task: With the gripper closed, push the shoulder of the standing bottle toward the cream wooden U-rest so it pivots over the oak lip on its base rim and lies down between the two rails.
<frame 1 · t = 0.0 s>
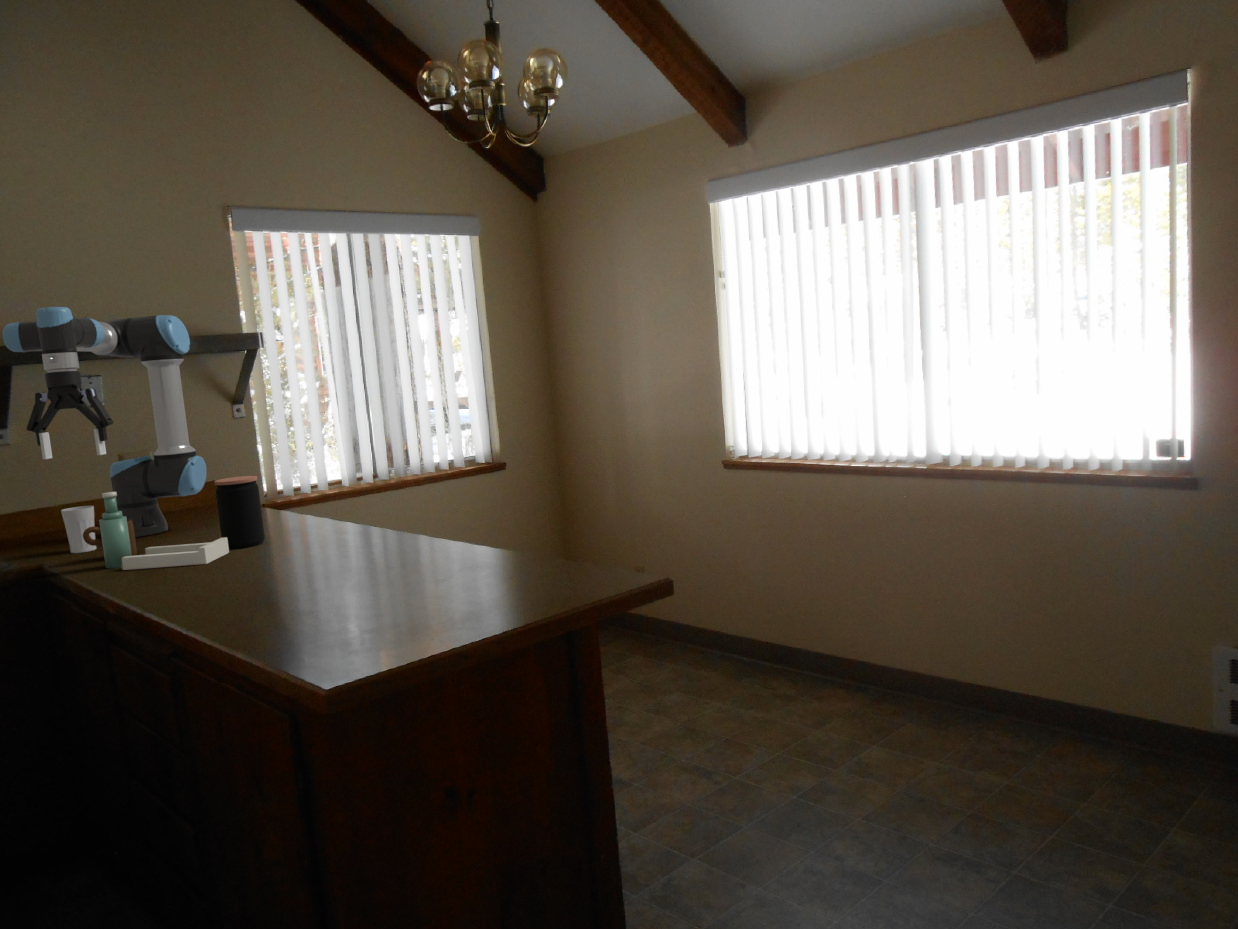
hand: (74, 456, 230), 28 cm above the table, fingers open, 13 cm apart
coffee jar: (244, 545, 248), on the table
cup: (83, 551, 259), on the table
mug: (112, 559, 243), on the table
rest: (174, 561, 232), on the table
bottle: (119, 565, 232), on the table
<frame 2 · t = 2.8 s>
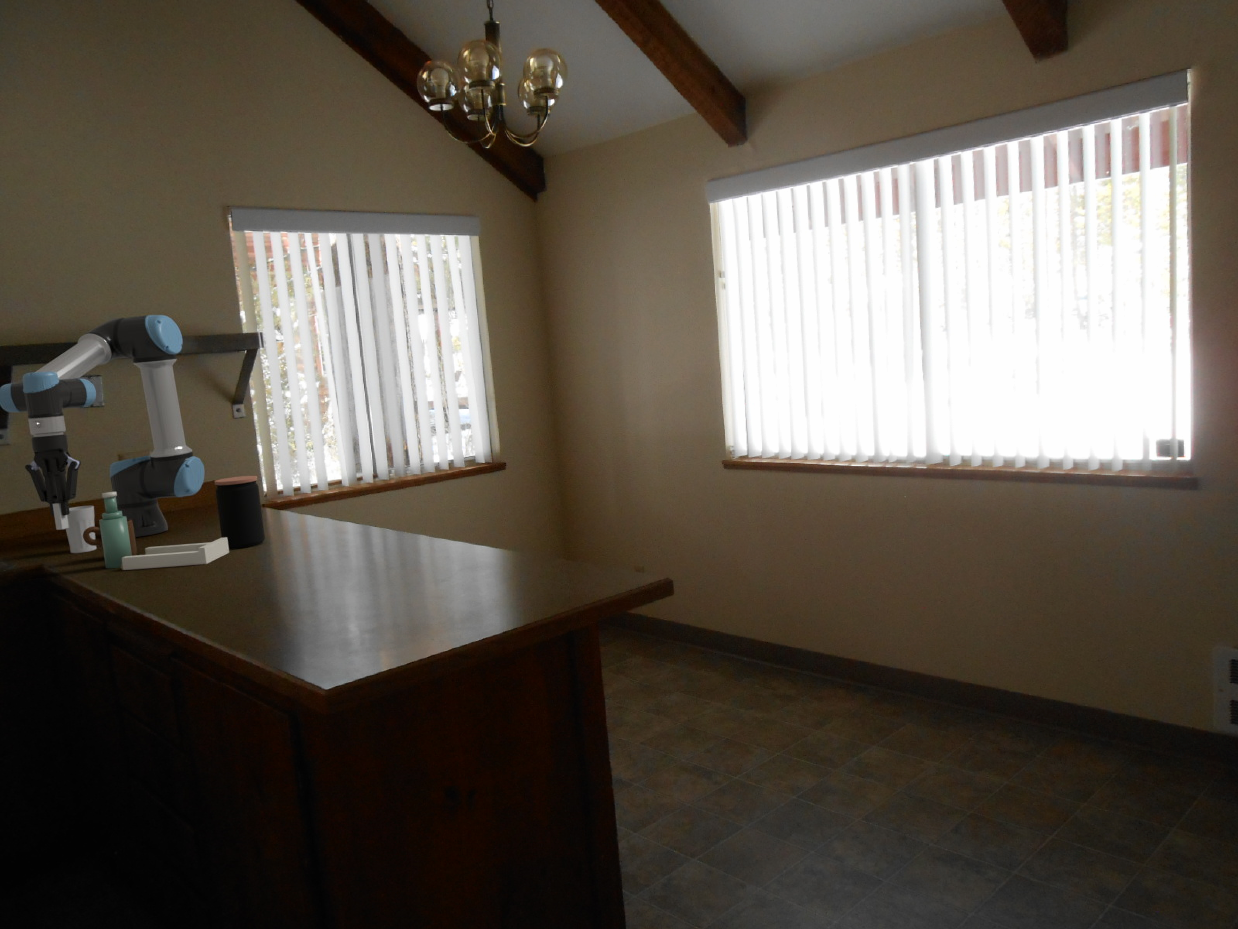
hand: (62, 528, 231), 10 cm above the table, fingers closed
nothing on the table moved.
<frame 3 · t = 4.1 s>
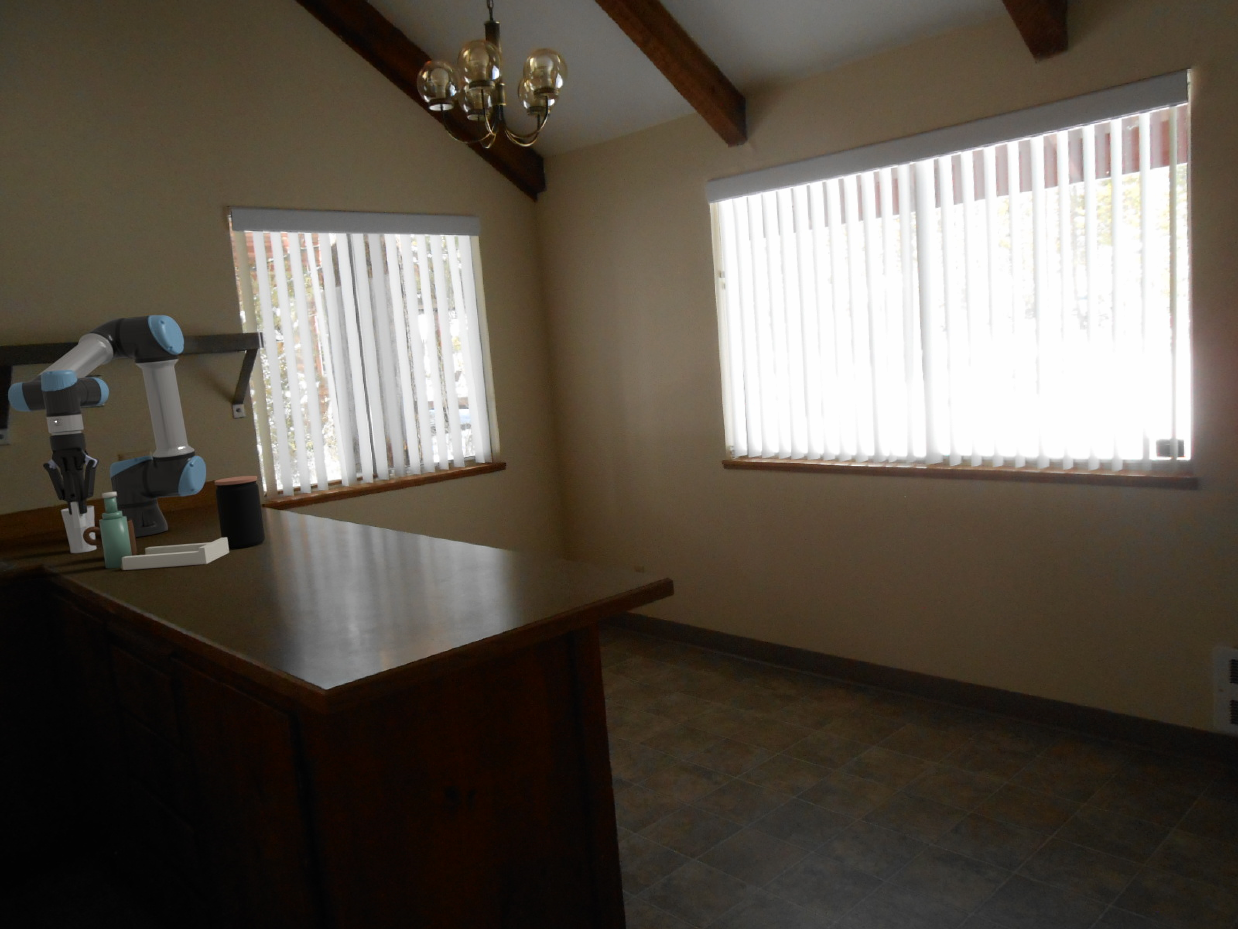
hand: (80, 527, 231), 10 cm above the table, fingers closed
nothing on the table moved.
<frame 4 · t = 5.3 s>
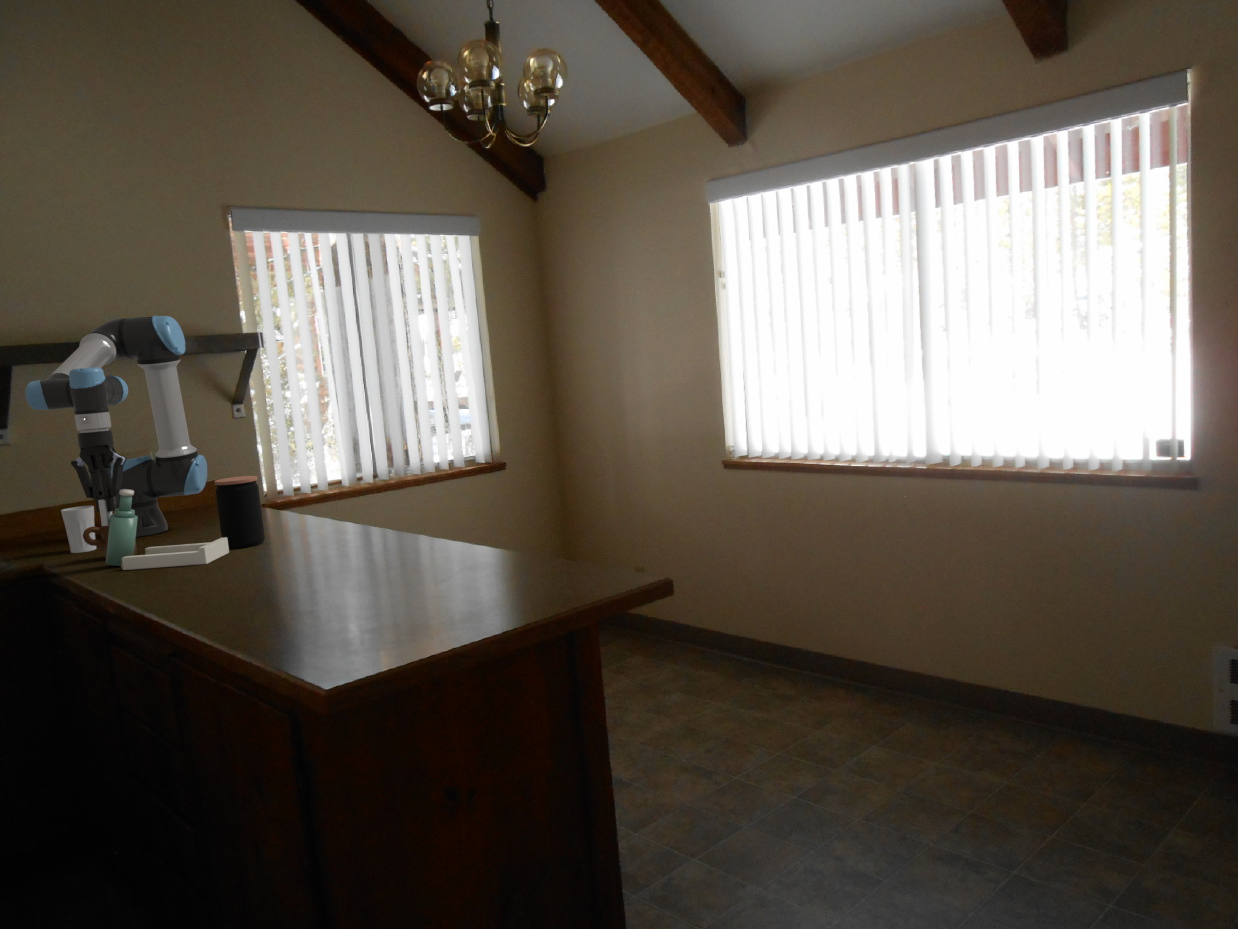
hand: (107, 524, 231), 11 cm above the table, fingers closed
bottle: (119, 562, 232), point 1 cm above the table, tilted 14°, touching gripper
everything else where it was.
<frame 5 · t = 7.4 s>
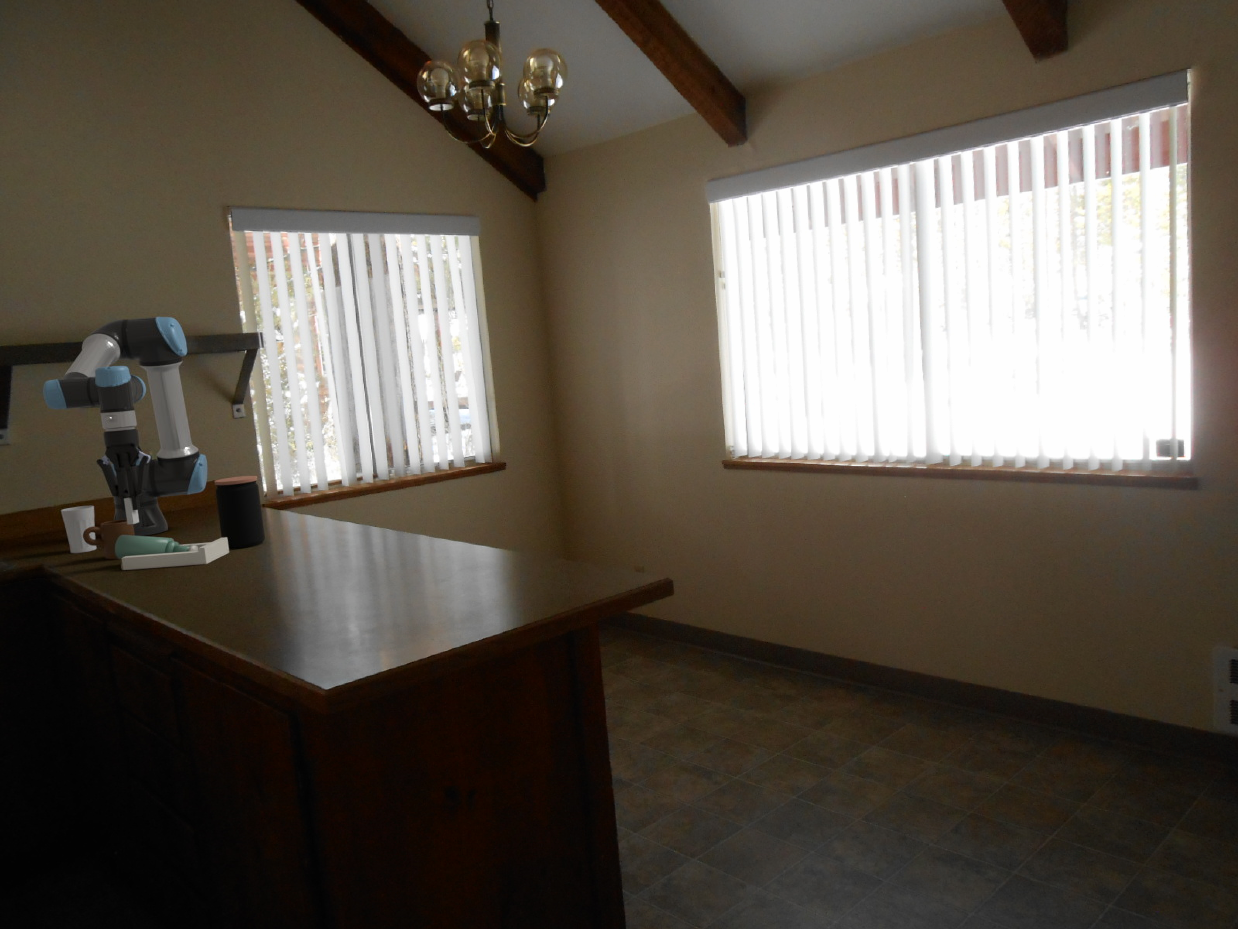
hand: (133, 523, 231), 10 cm above the table, fingers closed
bottle: (121, 546, 231), point 5 cm above the table, tilted 98°, touching rest
everything else where it was.
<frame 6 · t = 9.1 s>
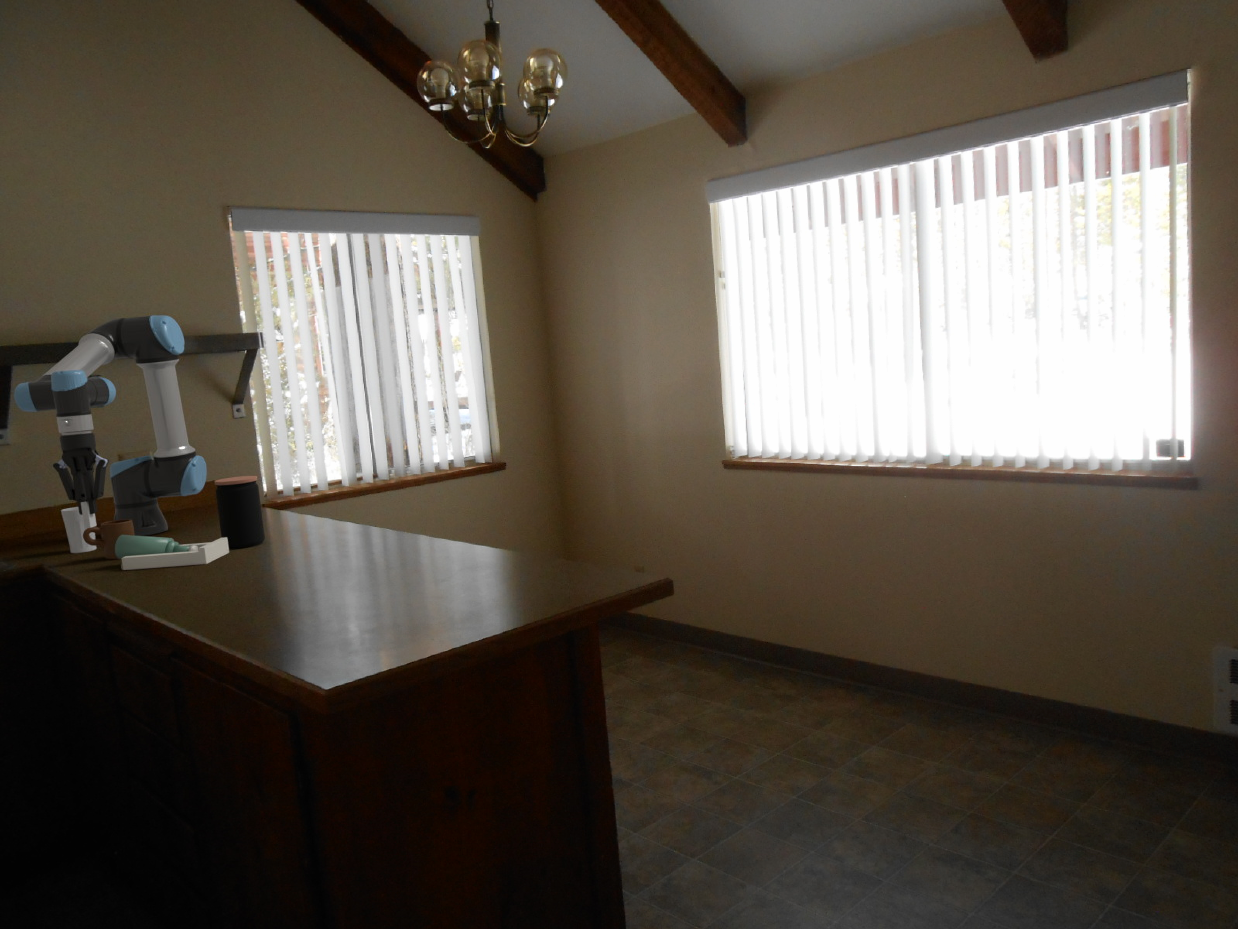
hand: (90, 526, 231), 10 cm above the table, fingers closed
nothing on the table moved.
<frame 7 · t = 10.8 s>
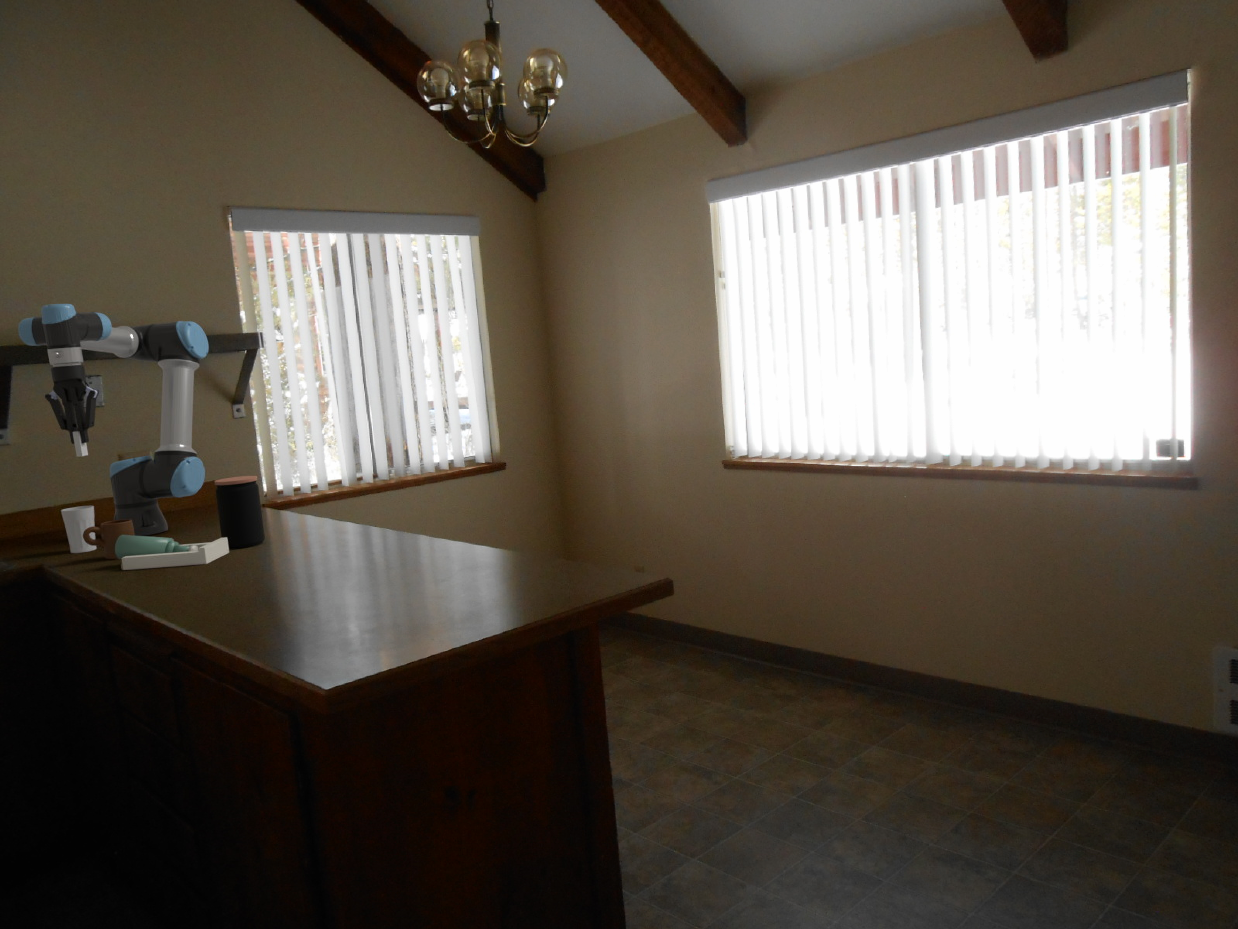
hand: (82, 455, 241), 27 cm above the table, fingers closed
nothing on the table moved.
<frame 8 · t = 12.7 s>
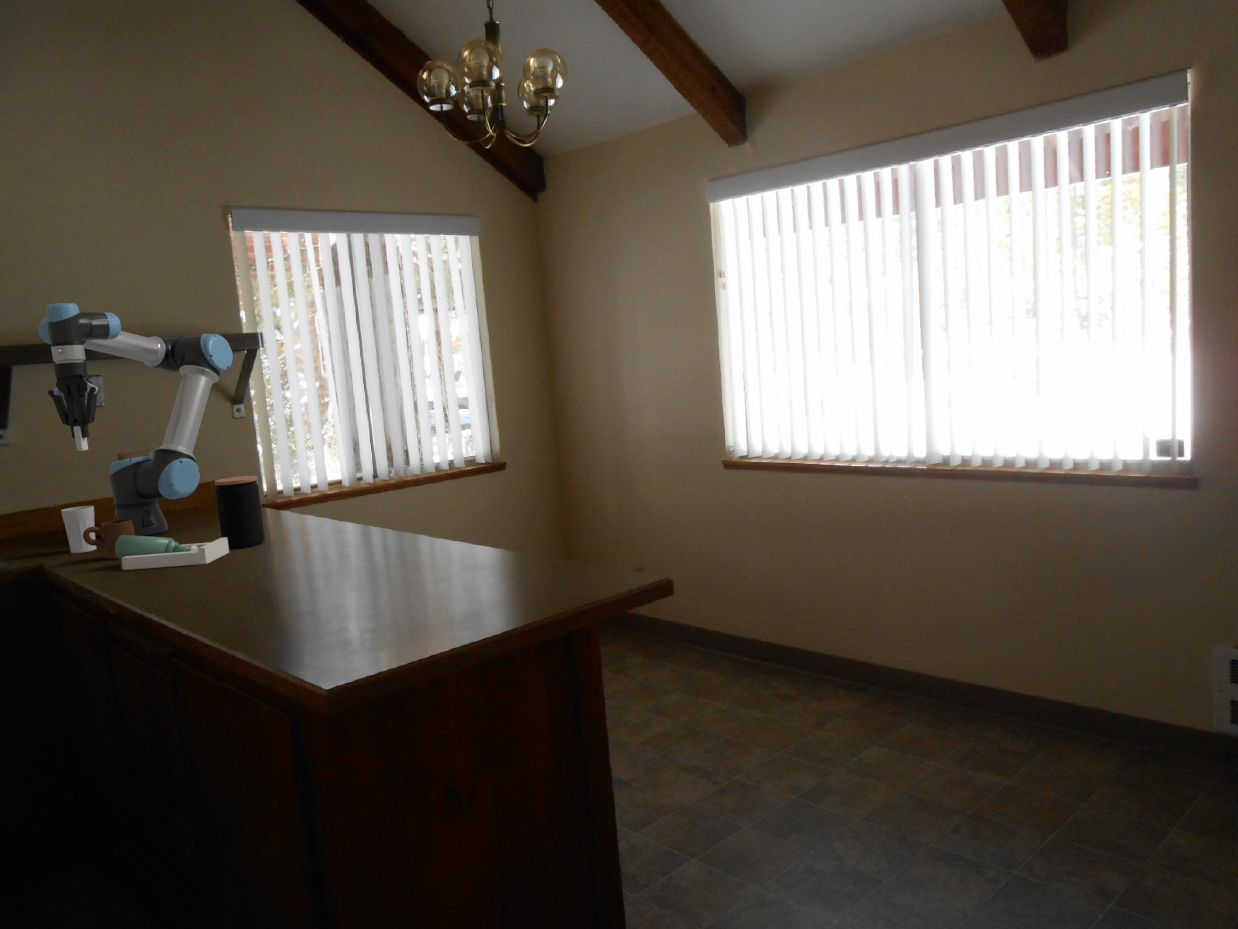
hand: (82, 450, 249), 28 cm above the table, fingers closed
nothing on the table moved.
at the end: bottle tilted 98°; bottle inside the target area on the rest (11.3 cm from its centre), point 4.7 cm above the rest's base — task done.
